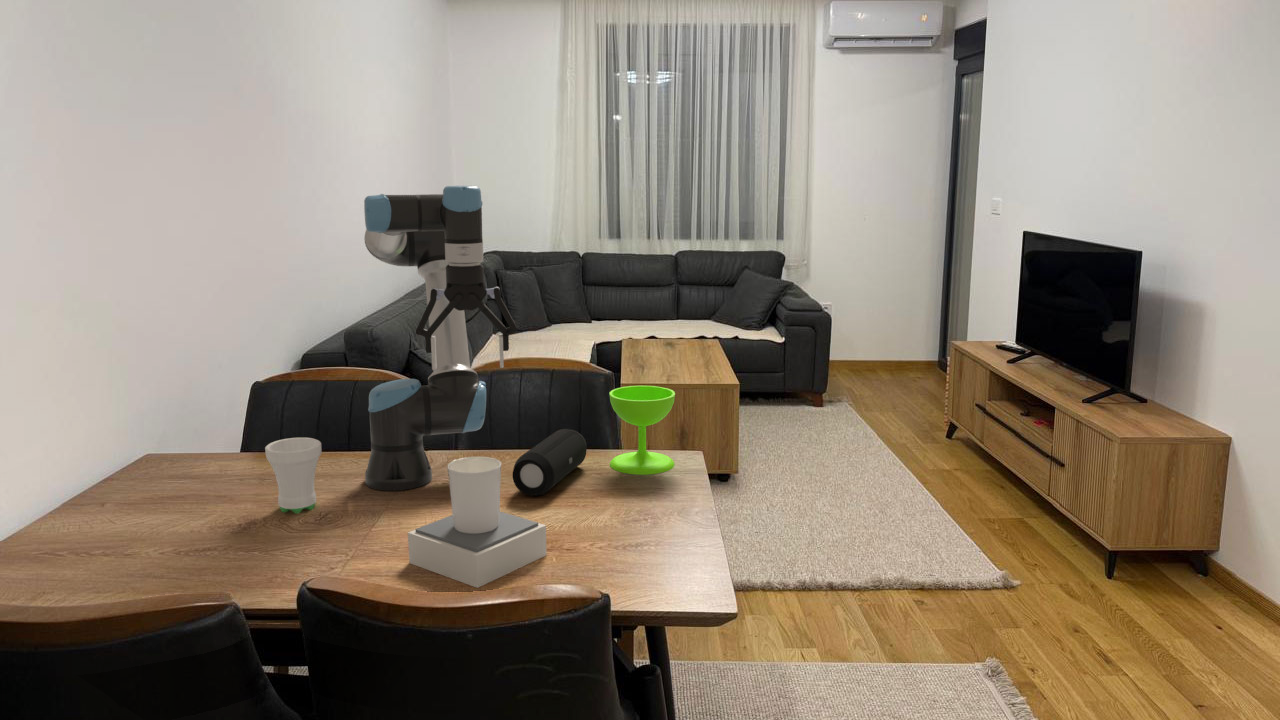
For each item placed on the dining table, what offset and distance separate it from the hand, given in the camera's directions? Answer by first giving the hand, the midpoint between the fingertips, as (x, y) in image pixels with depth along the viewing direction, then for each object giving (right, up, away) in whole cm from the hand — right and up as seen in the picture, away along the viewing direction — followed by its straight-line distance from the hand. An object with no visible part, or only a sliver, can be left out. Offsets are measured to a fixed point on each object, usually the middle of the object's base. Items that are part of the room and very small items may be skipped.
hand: (468, 367), depth 201 cm
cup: (-38, -30, +10) cm, 50 cm away
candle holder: (+5, -30, -18) cm, 35 cm away
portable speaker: (+15, -27, +28) cm, 41 cm away
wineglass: (+36, -24, +40) cm, 59 cm away
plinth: (+5, -36, -17) cm, 40 cm away
